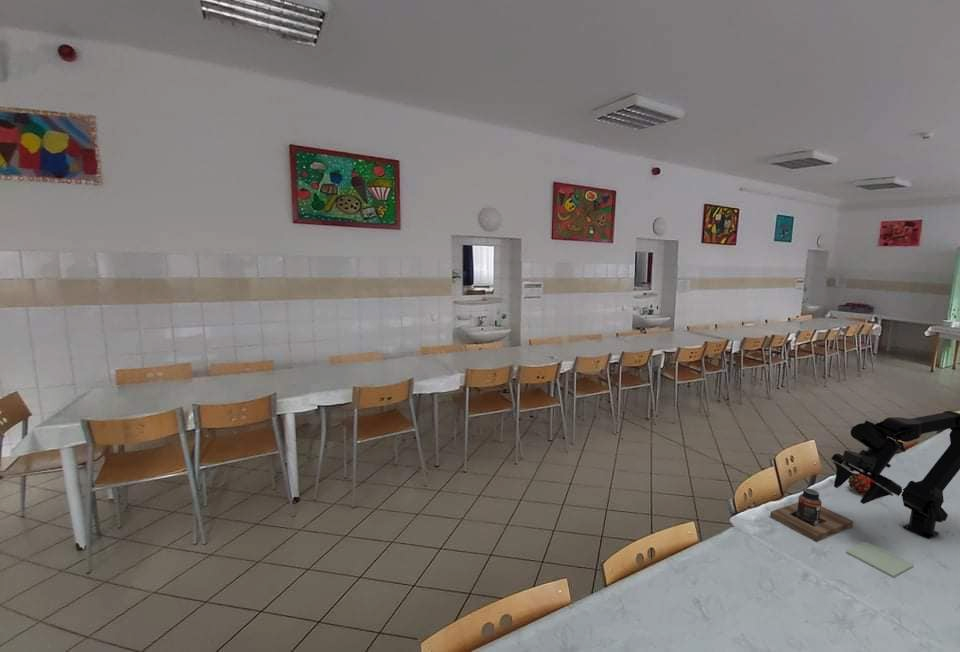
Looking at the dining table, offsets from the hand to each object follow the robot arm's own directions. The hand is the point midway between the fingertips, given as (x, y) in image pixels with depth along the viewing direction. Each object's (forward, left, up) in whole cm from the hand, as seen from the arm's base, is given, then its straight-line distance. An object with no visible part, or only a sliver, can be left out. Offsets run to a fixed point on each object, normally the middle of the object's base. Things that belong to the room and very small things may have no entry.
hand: (848, 494), depth 134 cm
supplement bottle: (+5, -7, -13) cm, 16 cm away
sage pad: (+5, +12, -13) cm, 18 cm away
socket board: (+3, -7, -13) cm, 15 cm away
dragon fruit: (-37, -11, -13) cm, 41 cm away
